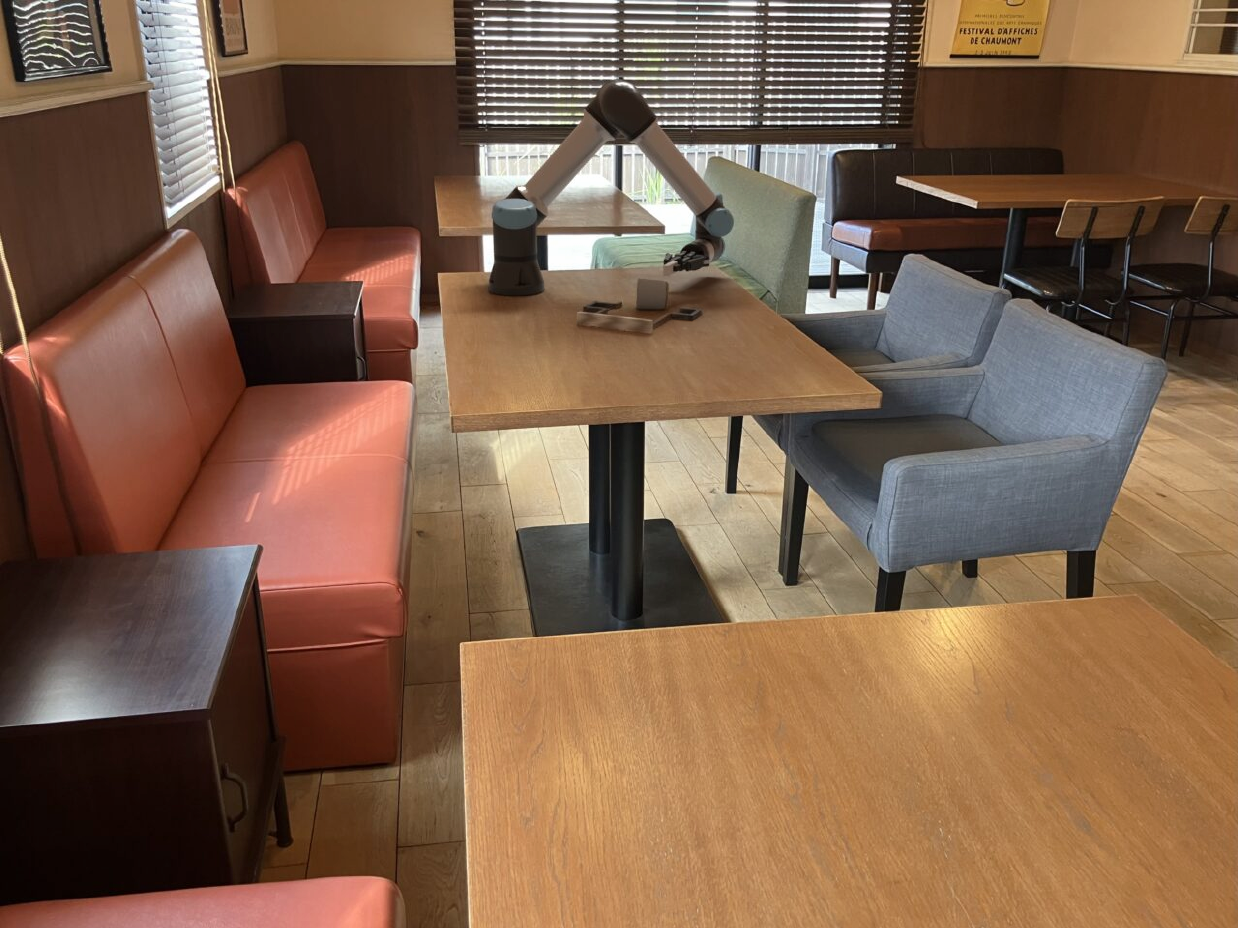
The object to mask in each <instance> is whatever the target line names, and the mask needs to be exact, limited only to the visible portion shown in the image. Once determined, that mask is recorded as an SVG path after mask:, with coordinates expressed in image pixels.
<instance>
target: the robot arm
mask: <svg viewBox="0 0 1238 928" xmlns="http://www.w3.org/2000/svg"><path fill="white" fill-rule="evenodd" d="M621 135H622V136H624V138H625V139H626V140H627V141H628V143H630V144H635V145H636V146H637V148H638V149H639V150H640V151H641V152H642V153H643V155H645V157H646V158H647V159H648V160H649V162H650V163H651V164H652V166H654V168H655V169H656V170H657V171H658V173H660V175H661V176H662V177H663V179H664V180H665V181H666V182H667V183H668V184H669V185H670V187H671V188H672V190H673V191H674V192H675V194H677V196H679V198H680V199H681V200H682V201H683V203H684V204H685V205H686V207H688V209H689V210H690V211H691V212H692V213H693V214H694V216H695V232H694V233H695V235H694V237H695V238H694V241H691V242H689V243H687V244H685V245H684V246H682V248H681V250H680V251H679V253H675V254H674V255H673V253H668V252H666V253H665V257H664V258H663V266H662V267H663V271H662V273H663V274H662V275H663V277H664V276H665V277H670V276H671V275H673V274H675V273H677V272H683V271H685V272H691V271H699V270H700V269H702V268H705V267H706V268H707V267H710V264H711V263H714V262H715V261H717V260H719V259H720V257H722V256H723V255H724V253H725V250H726V242H725V240H724V238H723V237H725V236H727V235H729V234H730V233H731V232H732V230H733V228H734V226H735V219H734V217H733V214H732V212H731V211H730V209H727V208H726V207H725V206H724V202H723V201H724V199H723V198H724V196H723V194H721V193H720V192H714V191H713V190H711V188H710V187H709V186H708V185H707V183H706V182H705V180H704V179H703V178H702V177H701V176H700V175H699V174H698V172H697V171H696V170H695V168H694V167H693V166H692V164H691V163H690V162H689V161H688V159H687V158H686V157H685V156H684V155H683V153H682V152H681V151H680V149H678V147H677V146H676V145H675V144H674V142H673V141H672V140H671V138H670V137H669V136H668V135H667V134H666V132H665V131H664V130H663V129H662V128H661V126H660V125H659V123H658V116H657V115H656V114H655V112H654V111H653V110H652V108H651V107H650V105H649V104H648V102H647V101H646V99H645V97H644V96H643V93H642V92H641V91H640V90H639V88H638V87H637V86H635V84H632V83H631V82H628V81H626V80H623V79H612V80H610V81H607V82H605V83H604V84H603V85H601V86H600V88H599V89H598V90H597V92H596V95H595V96H594V97H593V98H592V100H591V101H590V102H589V103H588V105H586V106H585V108H584V109H583V118H582V120H580V122H579V123H578V124H577V125H576V126H575V128H574V129H573V130H572V131H571V132H570V133H569V134H568V135H567V137H566V138H565V139H564V140H563V141H562V142H561V144H560V145H559V146H558V147H557V148H556V149H555V150H554V152H553V153H551V155H550V156H549V157H548V159H547V160H545V162H544V163H543V164H541V166H540V168H539V169H538V170H537V171H536V172H535V173H534V174H533V175H532V176H531V177H530V178H529V180H528V181H526V183H525V184H523V185H522V184H520V185H516V186H515V187H514V188H513V189H512V191H510V192H509V194H508V195H507V196H506V197H505V198H503V199H502V200H499V201H496V202H495V203H494V204H493V205H492V209H491V211H492V212H491V219H492V241H493V265H492V269H491V272H490V274H489V275H490V276H489V279H488V291H489V293H493V294H495V295H501V296H530V295H536V294H539V293H542V292H544V291H545V280H544V277H543V274H542V271H541V268H540V266H539V262H538V234H537V232H538V231H537V230H538V229H537V228H538V227H539V226H540V225H541V223H543V222H544V220H545V219H546V218H547V217H548V216H549V206H550V205H551V204H552V203H553V202H554V201H555V200H556V198H557V197H558V196H559V195H560V194H561V193H562V192H563V191H564V189H565V188H567V186H568V185H569V184H571V183H570V182H572V180H574V179H575V177H576V176H578V174H579V173H580V172H581V170H582V169H583V168H584V167H585V166H586V165H587V164H588V163H589V161H590V160H591V159H592V158H593V157H594V156H595V155H596V153H597V152H598V151H600V150H601V148H602V147H603V146H604V145H605V144H606V143H607V142H609V141H611V142H612V141H613V142H614V141H616V140H617V139H618V138H619V136H621Z"/></svg>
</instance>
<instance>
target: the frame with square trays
mask: <svg viewBox="0 0 1238 928" xmlns="http://www.w3.org/2000/svg"><path fill="white" fill-rule="evenodd" d="M621 307H623V301H620V300H618V301H616V302H607V301H598V300H594V301H592V302H590V303H588V304H586V305H584V306H582V310H583V311H577V312H576V325H577V326H582V325H586V326H585V327H590V326H596V327H595V328H598V327H602V328H601V329H607V328H611V329H610V330H615V329H619V330H618V331H624V330H625V331H626V332H633V333H635V332H636V333H643V334H651V335H652V333H653V332H654V330H655V329H656V328H657V327H659V326H660V325H663V324H664V323H666V322H667V321H670V320H671V319H675V320H683V321H694V320H695V319H697V318H698V317H700V316H702V315H703V309H699V308H691V307H680V308H679V312H667V313H666V314H664V315H662V316H660V317H659V318H657V319H655V320H654V319H648V318H640V317H639V318H638V317H630V316H621V315H613V314H608V313H609V311H611V310H613V309H616V310H617V309H619V308H621ZM625 331H624V332H625Z"/></svg>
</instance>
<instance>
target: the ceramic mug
mask: <svg viewBox="0 0 1238 928" xmlns="http://www.w3.org/2000/svg"><path fill="white" fill-rule="evenodd" d="M669 289H670V284H669V282H668V281H665V280H660V279H647V278H641V277H639V278H638V279H637V284H636V301H635V302H636V303H635V304H636V305H635V309H636V310H666V309H667V308H668V304H669Z"/></svg>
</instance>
